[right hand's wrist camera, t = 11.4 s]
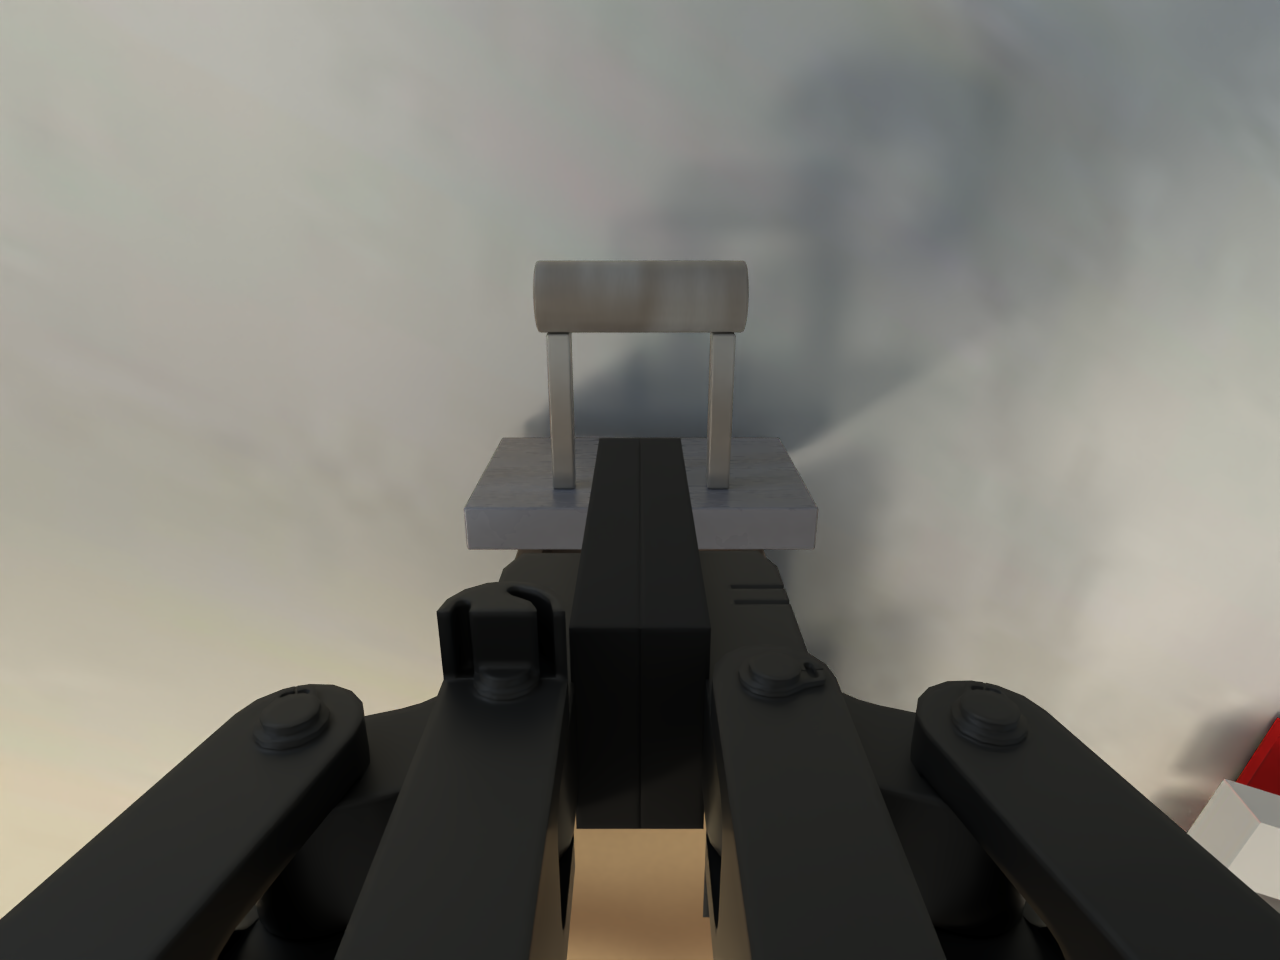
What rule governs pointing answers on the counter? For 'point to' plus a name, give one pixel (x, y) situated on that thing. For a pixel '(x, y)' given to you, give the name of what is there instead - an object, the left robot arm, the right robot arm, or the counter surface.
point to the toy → (1248, 821)
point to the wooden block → (639, 895)
